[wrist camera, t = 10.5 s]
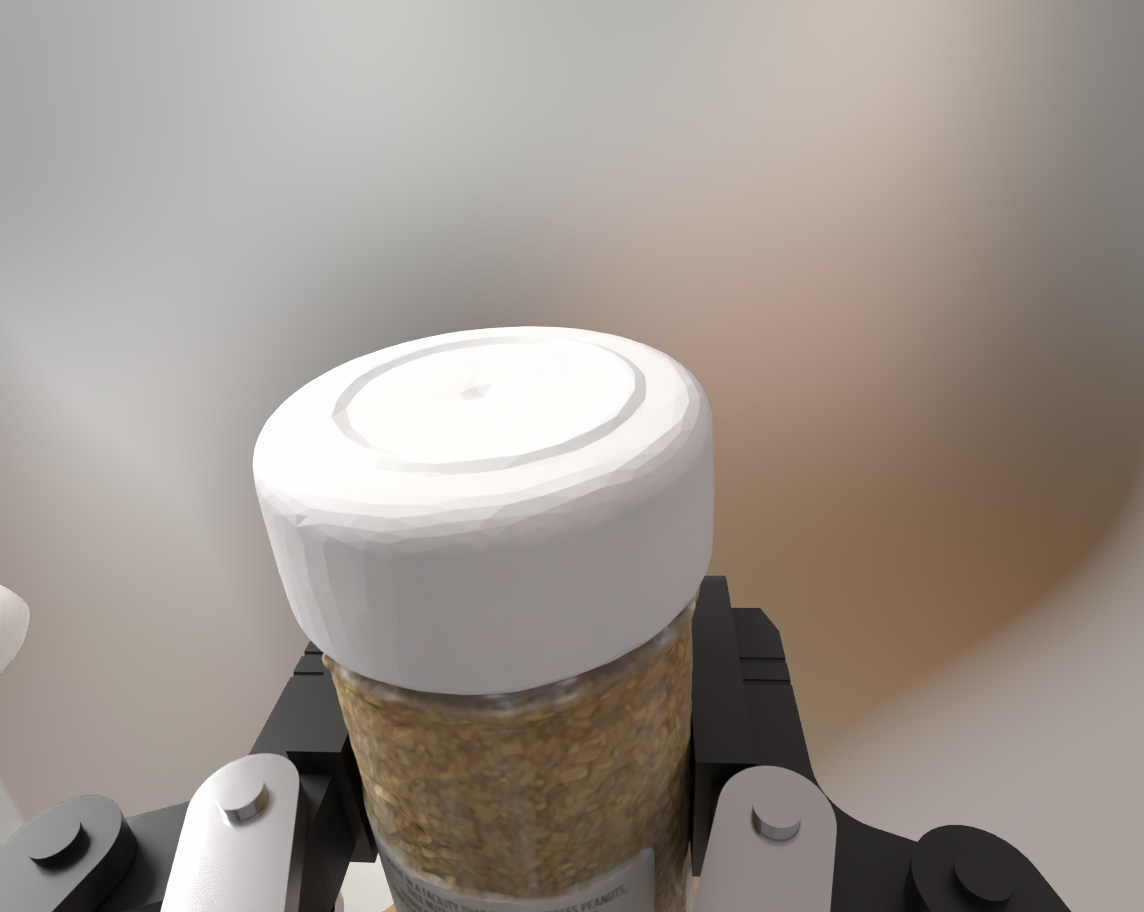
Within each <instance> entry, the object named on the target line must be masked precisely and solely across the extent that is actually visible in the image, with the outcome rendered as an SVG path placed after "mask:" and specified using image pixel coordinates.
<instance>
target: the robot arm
mask: <svg viewBox="0 0 1144 912" xmlns="http://www.w3.org/2000/svg"><path fill="white" fill-rule="evenodd" d="M691 630H692V652H693V668H692V692H691V701H692V749H691V791H690V852H691V867H692V877H700V880H699V884H698V888H697V892H696V896H695V901H694V905H693V909H692V912H1071V911H1070V910H1069V908H1068V907H1067V906H1066V905H1065V903H1064V902H1063V901H1062V900H1061V898H1060V897H1059V896H1058V895H1057V893H1056V892H1055V891H1054V890H1053V888H1052V887H1051V886H1050V885H1049V883H1048V882H1047V881H1046V880H1045V878H1044V877H1043V876H1042V875H1041V873H1040V872H1039V871H1038V870H1037V868H1036V867H1035V866H1034V865H1033V864H1032V863H1031V862H1030V861H1029V860H1028V858H1027V857H1025V856H1024V855H1023V854H1022V853H1021V852H1020V851H1019V850H1018V849H1016V848H1015V847H1013V846H1012V845H1010V844H1009V843H1008V842H1006V841H1005V840H1003V839H1001V838H999V837H997V836H996V835H994V834H991V833H989V832H986V831H984V830H981V829H977V828H974V827H969V826H963V825H947V826H941V827H938V828H935V829H932V830H931V831H929V832H927V833H926V834H924V835H923V836H922V837H921V838H920V840H919V841H918V842H916V841H913V840H910V839H907V838H904V837H901V836H897V835H895V834H891V833H888V832H885V831H882V830H879V829H876V828H873V827H871V826H868V825H866V824H863V823H861V822H859V821H858V820H855V819H854V818H852V817H850V816H849V815H848V814H846V813H845V812H843V811H842V810H840V809H839V808H838V807H837V806H836V805H835V804H834V803H832V801H831V800H830V799H829V798H828V797H827V796H826V795H825V794H824V792H823V791H822V789H821V788H820V786H819V785H818V783H817V781H816V779H815V777H814V774H813V771H812V769H811V765H810V760H809V756H808V751H807V747H806V743H805V739H804V735H803V730H802V726H801V722H800V718H799V714H798V710H797V705H796V701H795V697H794V693H793V689H792V685H791V682H790V675H789V671H788V667H787V663H786V662H785V654H784V650H783V646H782V642H781V638H780V633H779V631H778V629H777V628H776V627H775V626H774V624H773V623H772V622H771V621H770V620H769V618H768V617H767V616H766V615H765V613H764V612H763V611H762V610H761V609H760V608H731V604H730V598H729V593H728V586H727V580H726V577H725V576H704V578H703V580H702V582H701V584H700V591H699V596H698V599H697V602H696V606H695V611H694V614H693V618H692V627H691ZM323 653H324V652H322V651H321V650H320V649H319V648H318V647H317V646H316V645H315V644H314V643H313V642H312V641H311V640H310V642H309V644H308V646H307V648H306V650H305V655H304V657H303V656H302V657H301V659H300V661H299V663H298V664H297V666H296V668H295V670H294V676H293V677H290V679H289V681H288V683H287V685H286V687H285V689H284V690H283V692H282V694H281V696H280V698H279V700H278V702H277V704H276V705H275V707H274V709H273V711H272V713H271V715H270V716H269V718H268V720H267V722H266V724H265V726H264V727H263V729H262V731H261V733H260V735H259V737H258V739H257V741H256V742H255V744H254V746H253V748H252V750H251V752H250V753H249V755H248V756H246V757H242V758H240V759H237V760H235V761H233V762H231V763H229V764H227V765H225V766H223V767H222V768H220V769H219V770H218V771H216V772H215V773H214V774H212V775H211V776H210V777H209V778H208V779H207V780H206V781H205V782H204V783H203V784H202V785H201V786H200V788H199V789H198V790H197V792H196V793H195V794H194V796H193V798H192V800H191V801H188V802H185V803H182V804H179V805H175V806H171V807H167V808H163V809H159V810H156V811H152V812H148V813H144V814H140V815H136V816H133V817H129V818H124V816H123V814H122V812H121V810H120V809H119V807H118V805H117V804H116V803H115V802H114V801H113V800H111V799H109V798H107V797H104V796H99V795H87V796H80V797H75V798H72V799H69V800H66V801H63V802H61V803H58V804H56V805H54V806H52V807H50V808H48V809H47V810H45V811H43V812H42V813H40V814H38V815H37V816H36V817H34V818H33V819H31V820H30V821H29V822H28V823H26V824H25V825H24V826H23V827H22V828H20V829H19V830H18V831H17V832H16V833H15V834H14V835H13V836H12V837H11V838H10V839H8V840H7V841H6V842H5V843H4V844H3V845H2V846H1V847H0V912H344V902H343V896H342V892H341V889H340V888H341V886H342V883H343V880H344V877H345V874H346V871H347V868H348V865H349V863H350V862H368V863H375V861H376V858H377V855H378V849H377V845H376V842H375V839H374V835H373V832H372V829H371V825H370V822H369V819H368V815H367V812H366V808H365V805H364V799H363V790H362V782H361V775H360V771H359V767H358V764H357V760H356V757H355V754H354V751H353V749H352V746H351V742H350V737H349V732H348V729H347V727H346V724H345V721H344V718H343V713H342V709H341V706H340V703H339V699H338V694H337V690H336V687H335V684H334V682H333V679H332V674H331V671H330V670H329V669H328V668H327V667H325V665H324V664H323V661H322V656H323Z"/></svg>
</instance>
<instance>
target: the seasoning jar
mask: <svg viewBox="0 0 1144 912" xmlns="http://www.w3.org/2000/svg"><path fill="white" fill-rule="evenodd" d="M253 472H254V479H255V486H256V491H257V495H258V499H259V503H260V506H261V510H262V513H263V517H264V521H265V524H266V528H267V532H268V535H269V539H270V542H271V546H272V549H273V553H274V556H275V559H276V563H277V566H278V570H279V573H280V576H281V579H282V582H283V585H284V588H285V591H286V594H287V597H288V600H289V603H290V605H291V608H292V610H293V613H294V615H295V618H296V619H297V621H298V622H299V625H300V626H301V628H302V629H303V631H304V632H305V633H306V635H307V636H308V638H309V639H310V640H311V641H312V642H313V643H314V644H315V645H316V646H317V647H318V648H319V649H320V650H321V651H322V652H324V653H323V656H322V661H323V664H324V665H325V667H327V668H328V669H329V670H330V671H331V674H332V679H333V682H334V684H335V687H336V690H337V694H338V699H339V703H340V706H341V709H342V713H343V718H344V721H345V724H346V727H347V729H348V732H349V737H350V742H351V746H352V749H353V751H354V754H355V757H356V760H357V764H358V767H359V771H360V775H361V782H362V790H363V799H364V805H365V808H366V812H367V815H368V819H369V822H370V825H371V829H372V832H373V835H374V839H375V842H376V845H377V849H378V852H379V855H380V859H381V862H382V865H383V869H384V872H385V875H386V879H387V882H388V885H389V888H390V892H391V895H392V898H393V901H394V905H395V908H396V911H397V912H692V909H693V905H694V877H692V867H691V852H690V791H691V749H692V701H691V692H692V668H693V652H692V630H691V627H692V618H693V614H694V611H695V606H696V602H697V599H698V596H699V591H700V584H701V582H702V580H703V578H704V576H705V574H706V571H707V569H708V566H709V563H710V558H711V552H712V545H713V508H714V507H713V506H714V455H713V420H712V413H711V409H710V405H709V401H708V399H707V396H706V394H705V391H704V389H703V388H702V387H701V385H700V384H699V382H698V381H697V379H696V378H695V377H694V376H693V374H692V373H690V372H689V371H688V370H687V369H686V368H685V367H683V366H682V365H681V364H680V363H678V362H677V361H675V360H674V359H672V358H671V357H669V356H668V355H666V354H664V353H662V352H660V351H658V350H656V349H654V348H652V347H649V346H647V345H645V344H642V343H639V342H636V341H633V340H630V339H627V338H623V337H619V336H615V335H611V334H606V333H600V332H594V331H588V330H582V329H572V328H560V327H531V326H530V327H529V326H526V327H507V328H488V329H479V330H470V331H461V332H455V333H448V334H442V335H437V336H432V337H427V338H422V339H418V340H414V341H410V342H406V343H402V344H399V345H395V346H392V347H389V348H385V349H382V350H379V351H376V352H373V353H371V354H368V355H365V356H362V357H360V358H356V359H354V360H352V361H350V362H347V363H345V364H343V365H341V366H339V367H336V368H334V369H333V370H331V371H329V372H327V373H325V374H323V375H321V376H320V377H318V378H316V379H315V380H313V381H311V382H310V383H308V384H306V385H305V386H304V387H302V388H301V389H299V390H298V391H297V392H296V393H294V394H293V395H292V396H291V397H289V398H288V399H287V400H286V401H285V402H284V403H283V404H282V405H281V406H280V407H279V408H278V409H277V410H276V411H275V412H274V414H273V415H272V416H271V417H270V418H269V419H268V421H267V422H266V424H265V426H264V428H263V429H262V432H261V433H260V435H259V437H258V440H257V443H256V446H255V451H254V459H253Z"/></svg>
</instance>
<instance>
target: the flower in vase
mask: <svg viewBox="0 0 1144 912" xmlns="http://www.w3.org/2000/svg"><path fill="white" fill-rule="evenodd" d="M29 624H30V611H29V607H28V605H27V604H26V602H25V601H24V600H23V599H22V598H20V597H19V596H18V595H16V594H15V593H13V592H12V591H10V590H9V589H7V588H5V587H3V586H1V585H0V675H1V674H2V673H3V672H4V671H5V670H6V668H7V667H8V666H9V665H10V664H11V662H12V661H13V660H14V658H15V657H16V656H17V654H18V652H19V651H20V649H21V647H22V645H23V643H24V641H25V638H26V634H27V631H28V628H29Z"/></svg>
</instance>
